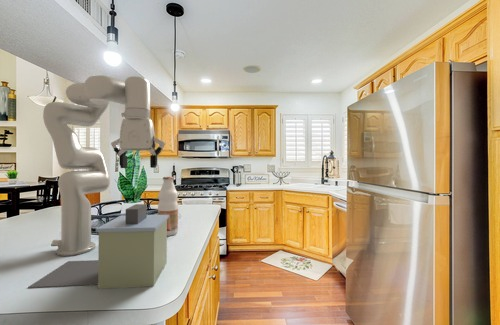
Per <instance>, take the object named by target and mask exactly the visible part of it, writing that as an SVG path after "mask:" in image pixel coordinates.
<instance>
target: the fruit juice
mask: <svg viewBox="0 0 500 325" xmlns="http://www.w3.org/2000/svg"><path fill="white" fill-rule="evenodd" d="M174 178H175V177H174V176H163V177H162V180H163V182H162V186H161V188H160V190H159V191H158V195H157V197H158V201H159V202H158V205H157V215H169V218H168V219H167V237H169V236H175V235H177V234H178V232H179V202H178V196H179V193H178V191H177V189H176V186H175V183H174Z"/></svg>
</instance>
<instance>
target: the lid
mask: <svg viewBox="0 0 500 325" xmlns="http://www.w3.org/2000/svg"><path fill="white" fill-rule="evenodd" d="M147 208H148V206H147V204H145V203H143V204H142V203H140V204H139V203H138V204H134V205H132V206H129V207H128V208H125V214H124V215H119V216H117V217H115V218H113V219H112V220H110V221H107V222H106V223H104V224H102V225H100V226H98V227H97V228H95V233H99V232H132V231H156V230H157V229H158V228H159V227H160V226H161V225H162V224H163V223H164V222H165V221H166V220H167V219H168V218H169V215H158V214H157V215H155V214H147V213H148V212H147V211H148V209H147Z"/></svg>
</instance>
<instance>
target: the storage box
mask: <svg viewBox="0 0 500 325" xmlns="http://www.w3.org/2000/svg"><path fill="white" fill-rule="evenodd" d="M167 238H168V236H167V220H166V221H165V222H164V223H163V224H162V225H161V226H160V227H159V228H158V229H157V230H156V231H132V232H98V259H97V260H98V284H97V286H98V289H114V288H116V289H117V288H138V287H139V288H141V287H154V286H155V284H156V283H157V281H158V279H159V277H160V275H161V274H162V272H163V270H164V269H165V267H166V265H167V258H168V256H167V252H168V248H167V247H168V246H167V244H168V242H167V241H168V240H167Z"/></svg>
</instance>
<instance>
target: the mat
mask: <svg viewBox="0 0 500 325" xmlns="http://www.w3.org/2000/svg"><path fill="white" fill-rule="evenodd" d="M77 286H78V287H81V286H82V287H83V286H85V287H87V286H98V259H97V260H96V259H95V260H94V259H92V260H68V261H67V262H65V263H63V264H62V265H59V266H58V267H57V268H55V269H54V270H52V271H51V272H49V273H47V274H46V275H45V276H43V277H41V278H40V279H38V280H37V281H35V282H34V283H32V284H31V285H29V286H28V287H27V289H34V288H35V289H37V288H38V289H40V288H61V287H63V288H64V287H77Z"/></svg>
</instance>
